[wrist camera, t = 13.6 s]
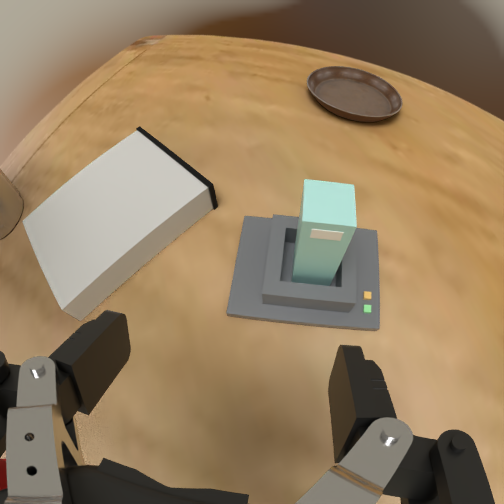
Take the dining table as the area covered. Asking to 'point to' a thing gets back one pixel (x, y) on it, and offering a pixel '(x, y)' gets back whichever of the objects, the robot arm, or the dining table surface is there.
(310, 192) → the plug
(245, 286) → the port block
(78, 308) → the disc drive
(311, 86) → the plant saucer
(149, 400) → the dining table surface
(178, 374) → the dining table surface
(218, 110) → the dining table surface
